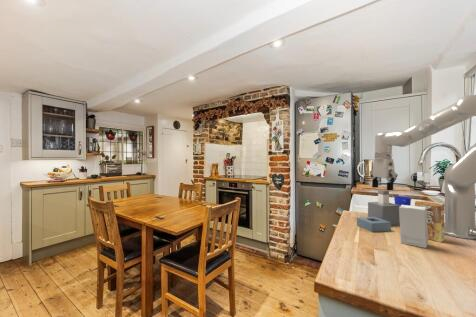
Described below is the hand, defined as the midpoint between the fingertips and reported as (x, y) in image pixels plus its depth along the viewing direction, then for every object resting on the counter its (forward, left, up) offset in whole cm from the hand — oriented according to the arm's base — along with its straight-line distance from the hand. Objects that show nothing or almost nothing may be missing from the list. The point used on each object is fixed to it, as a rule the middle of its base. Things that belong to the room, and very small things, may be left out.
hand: (382, 188), depth 116 cm
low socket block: (-7, +12, -18) cm, 23 cm away
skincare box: (-27, +11, -18) cm, 35 cm away
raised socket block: (0, 0, -18) cm, 18 cm away
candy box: (-23, -1, -18) cm, 30 cm away
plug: (0, 0, -11) cm, 11 cm away
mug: (+13, -25, -18) cm, 34 cm away
